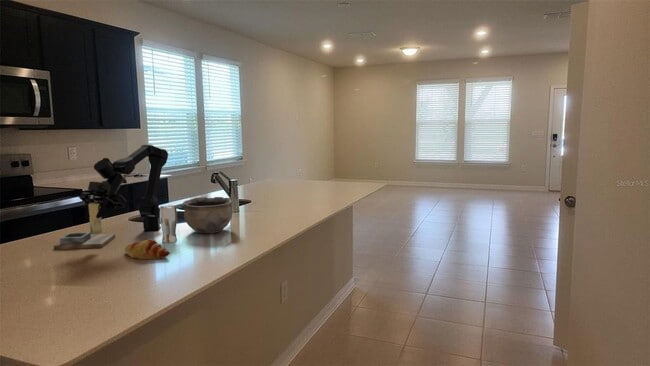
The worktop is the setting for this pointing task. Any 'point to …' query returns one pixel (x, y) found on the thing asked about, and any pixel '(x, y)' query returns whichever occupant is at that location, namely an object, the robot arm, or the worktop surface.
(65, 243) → the plate
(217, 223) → the ceramic bowl
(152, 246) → the croissant
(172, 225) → the beer glass
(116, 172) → the robot arm
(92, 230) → the pale yellow drinking glass
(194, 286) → the worktop surface
